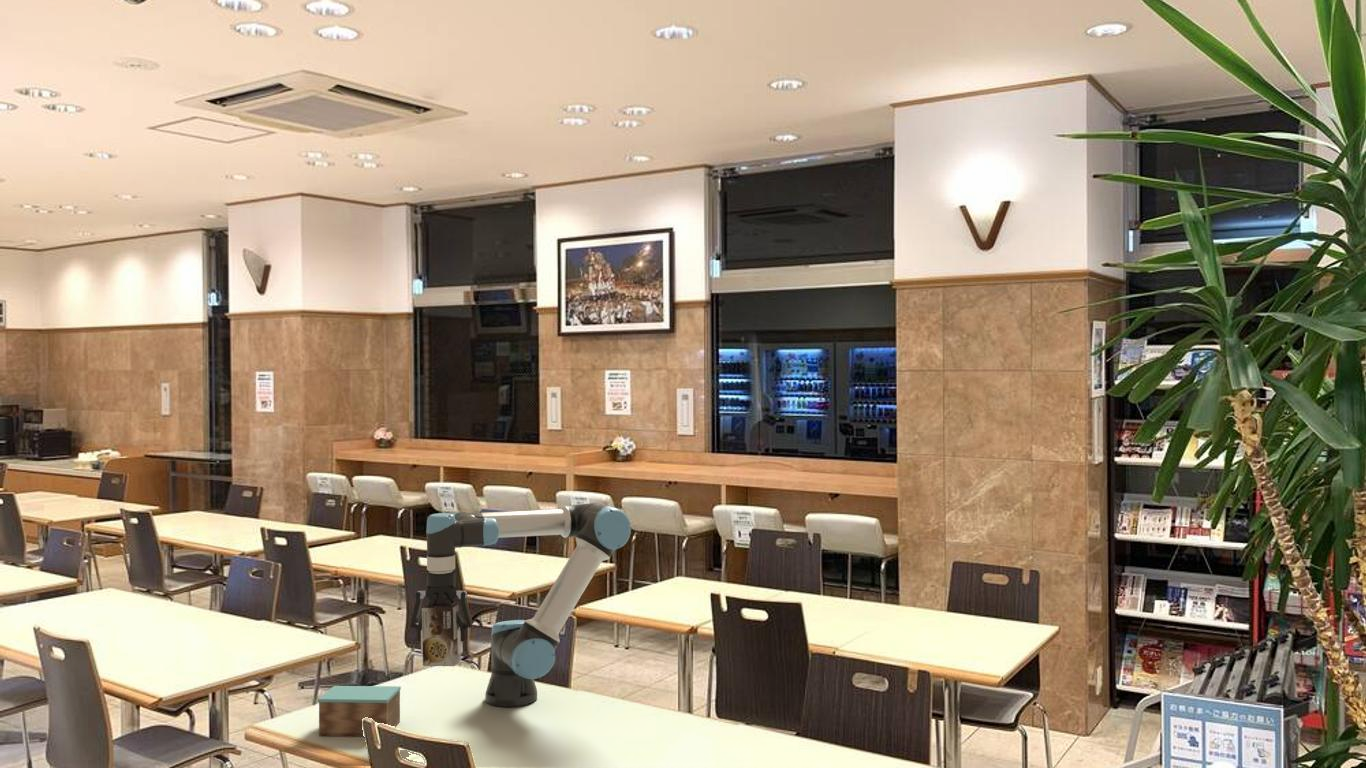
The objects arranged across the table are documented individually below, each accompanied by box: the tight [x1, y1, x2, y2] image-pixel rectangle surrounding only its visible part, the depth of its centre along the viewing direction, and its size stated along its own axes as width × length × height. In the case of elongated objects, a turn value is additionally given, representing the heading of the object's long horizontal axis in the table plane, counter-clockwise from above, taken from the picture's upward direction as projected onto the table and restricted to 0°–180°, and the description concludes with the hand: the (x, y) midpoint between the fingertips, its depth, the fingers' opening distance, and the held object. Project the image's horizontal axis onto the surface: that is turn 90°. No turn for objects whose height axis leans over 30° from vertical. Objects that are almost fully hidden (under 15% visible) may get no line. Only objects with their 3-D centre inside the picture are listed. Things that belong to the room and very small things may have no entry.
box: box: [318, 690, 401, 738], centre depth 283 cm, size 18×12×9 cm, turn 89°
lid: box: [317, 685, 401, 703], centre depth 283 cm, size 18×12×1 cm
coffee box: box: [421, 601, 462, 667], centre depth 286 cm, size 9×6×16 cm
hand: (441, 653), depth 286 cm, fingers closed on coffee box, 9 cm apart
